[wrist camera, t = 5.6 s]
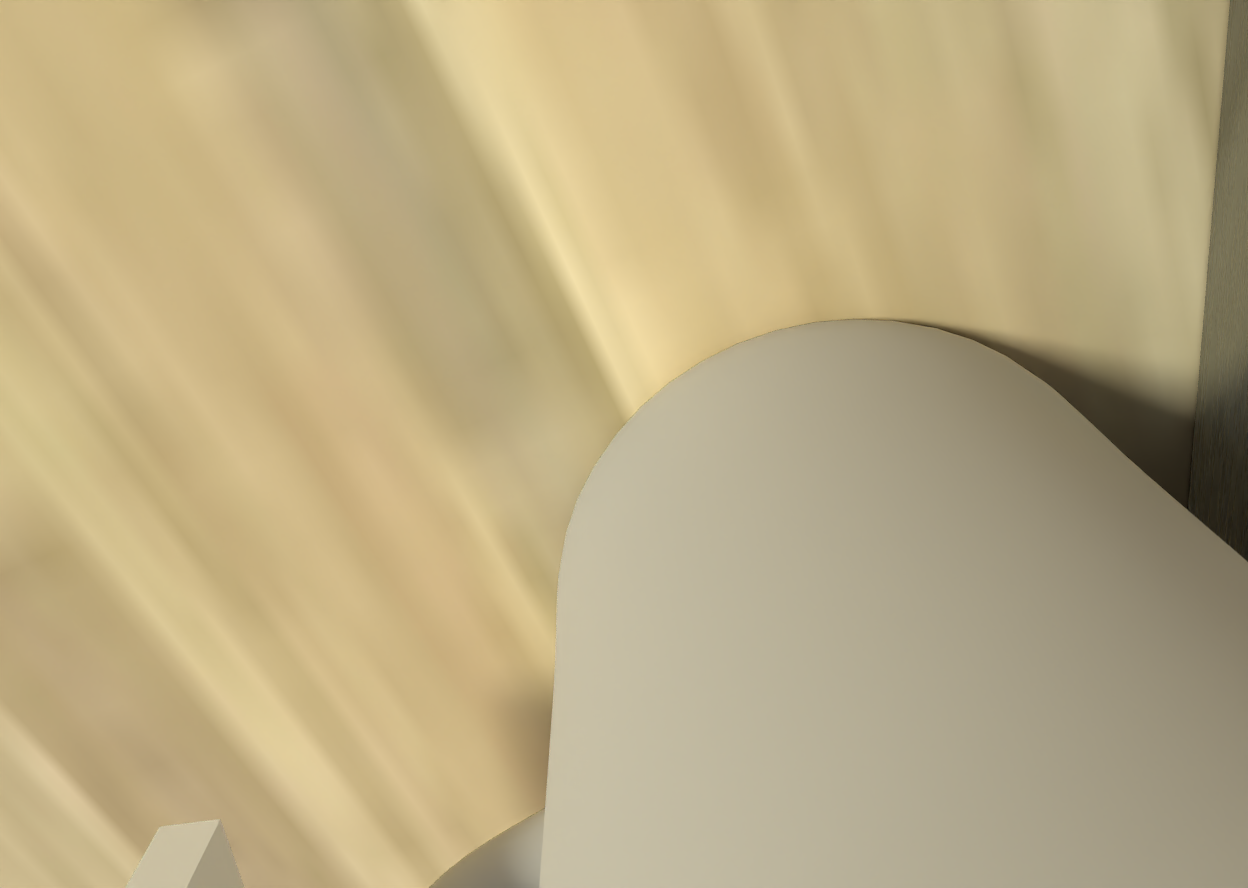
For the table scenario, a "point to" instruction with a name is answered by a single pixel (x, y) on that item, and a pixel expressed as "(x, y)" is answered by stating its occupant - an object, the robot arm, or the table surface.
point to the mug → (884, 641)
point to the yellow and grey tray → (1226, 317)
